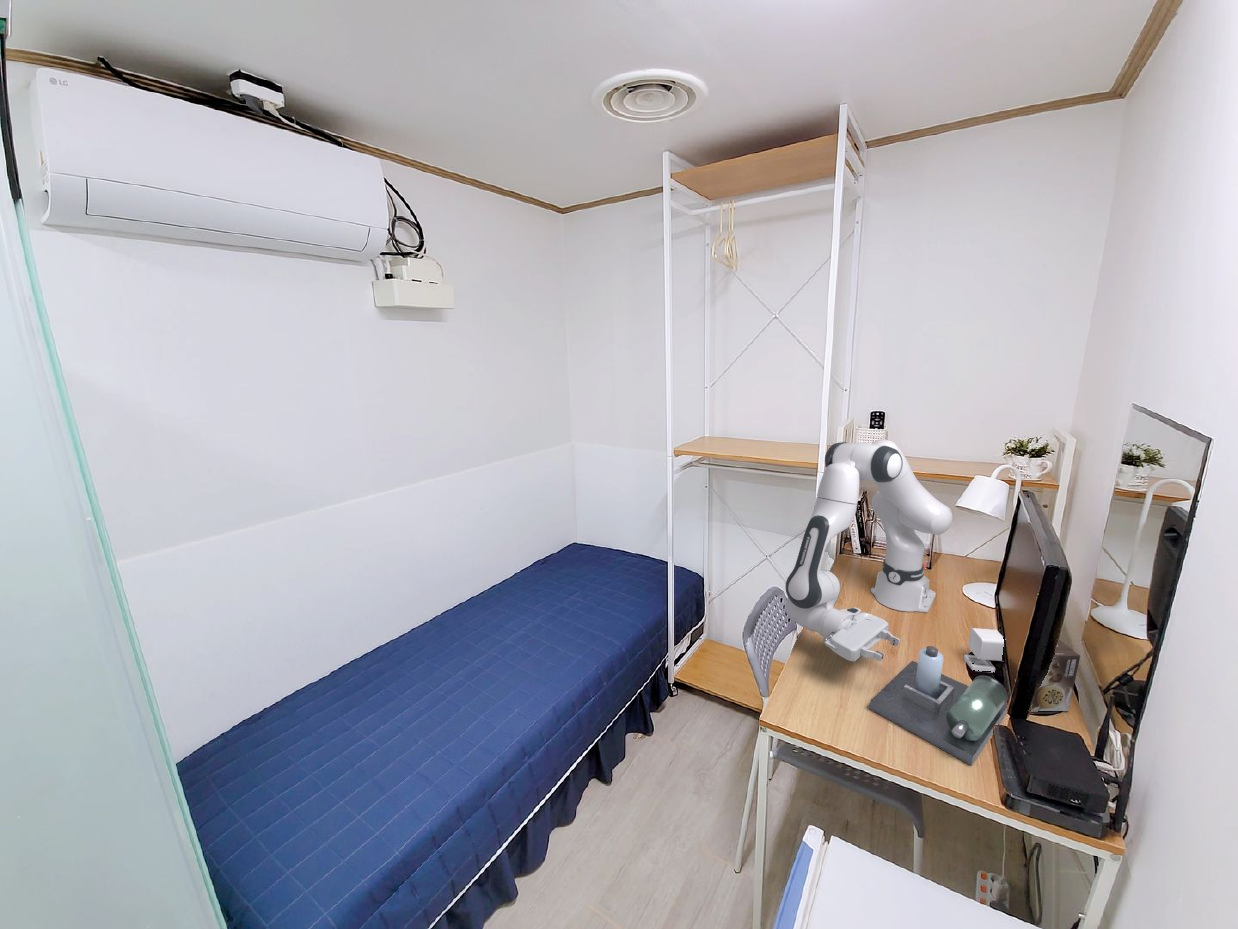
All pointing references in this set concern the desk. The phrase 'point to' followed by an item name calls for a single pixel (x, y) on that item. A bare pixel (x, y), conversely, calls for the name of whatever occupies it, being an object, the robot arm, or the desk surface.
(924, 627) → the desk surface
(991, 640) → the security camera
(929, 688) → the capped plastic bottle
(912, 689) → the motor mount
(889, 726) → the desk surface
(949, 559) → the desk surface
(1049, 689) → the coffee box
